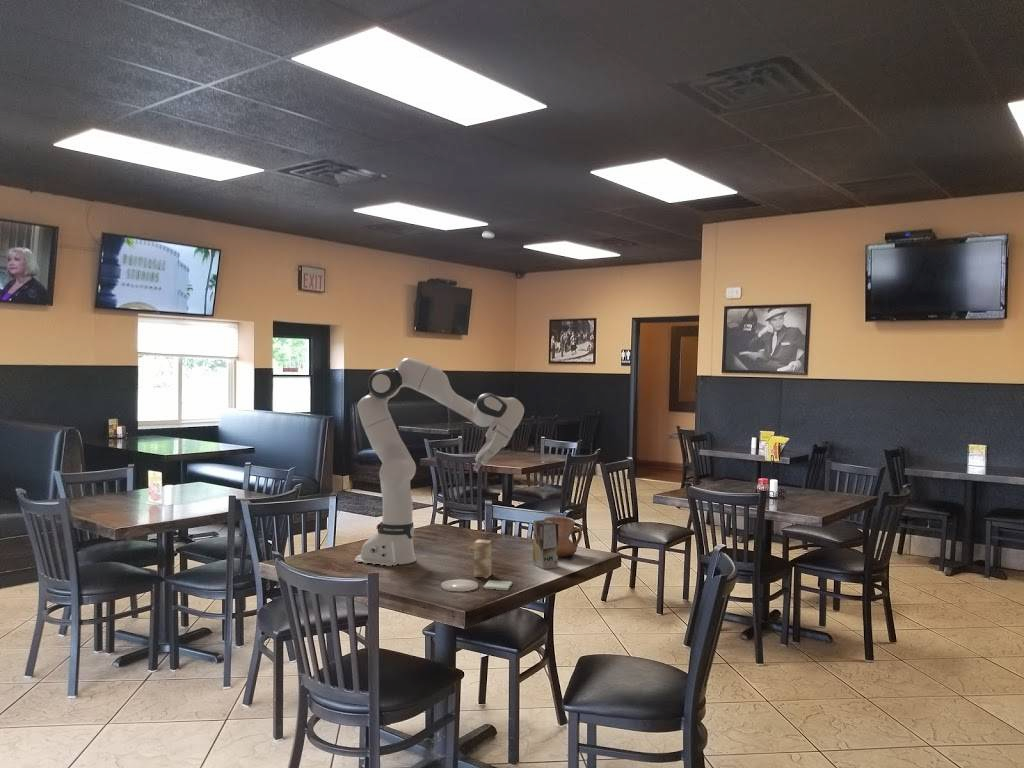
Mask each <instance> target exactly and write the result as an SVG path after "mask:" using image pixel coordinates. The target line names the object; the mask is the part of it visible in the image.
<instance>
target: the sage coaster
mask: <svg viewBox="0 0 1024 768" xmlns="http://www.w3.org/2000/svg"><path fill="white" fill-rule="evenodd" d="M510 586H511V587H512V586H513V581H508V580H506V581H505V580H494V579H493V580H491V579H489V580H488V581H487V582H486V583H485V584H484V585H483V588H485V589H484V590H493V589H496V590H495V591H497V590H498V591H508V590H510V588H511V587H510Z"/></svg>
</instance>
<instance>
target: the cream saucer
mask: <svg viewBox="0 0 1024 768" xmlns="http://www.w3.org/2000/svg"><path fill="white" fill-rule="evenodd" d="M478 587H479V583H478V582H477V581H474V580H471V579H462V578H461V579H460V578H459V579H458V578H457V579H450V580H444V581H442V582H441V584H440V589H442V588H443V589H445V590H448V591H447V592H449V591H469V590H474V589H476V590H478V589H479V588H478ZM443 589H442V590H443ZM445 590H444V591H445ZM474 591H475V590H474ZM469 592H470V591H469Z"/></svg>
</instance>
